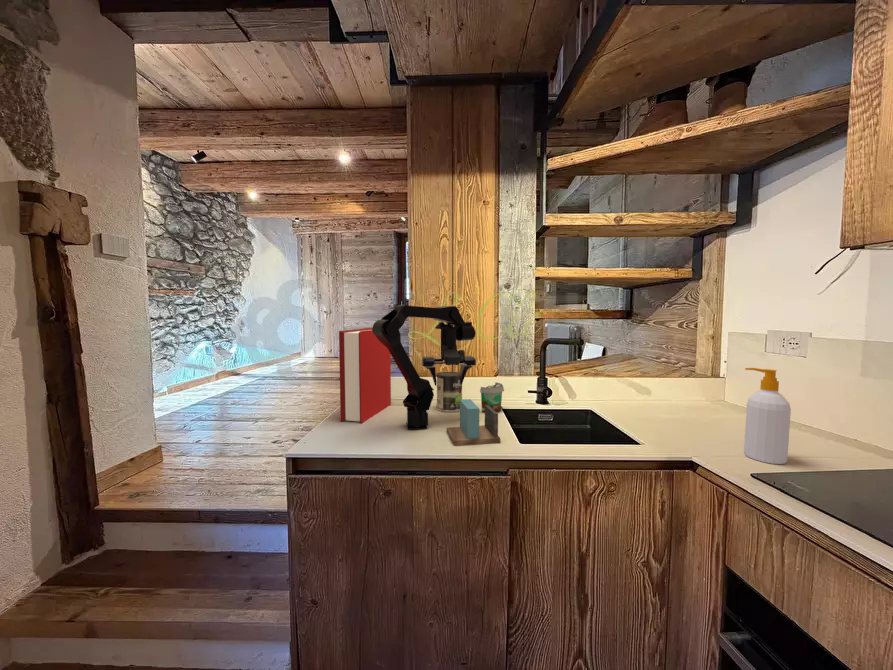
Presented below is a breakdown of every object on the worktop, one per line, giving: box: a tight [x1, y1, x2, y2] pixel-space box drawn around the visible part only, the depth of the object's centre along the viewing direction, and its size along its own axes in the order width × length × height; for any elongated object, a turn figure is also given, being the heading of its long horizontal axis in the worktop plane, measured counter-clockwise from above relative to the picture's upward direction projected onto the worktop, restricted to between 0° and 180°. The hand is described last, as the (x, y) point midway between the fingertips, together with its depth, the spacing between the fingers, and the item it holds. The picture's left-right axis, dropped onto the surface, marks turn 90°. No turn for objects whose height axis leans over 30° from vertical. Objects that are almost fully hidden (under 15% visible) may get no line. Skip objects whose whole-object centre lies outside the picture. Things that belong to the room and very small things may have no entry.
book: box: [338, 327, 392, 424], centre depth 136 cm, size 27×8×32 cm, turn 166°
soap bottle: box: [743, 367, 792, 465], centre depth 94 cm, size 9×9×24 cm
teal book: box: [459, 398, 480, 439], centre depth 109 cm, size 4×11×9 cm, turn 10°
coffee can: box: [436, 371, 463, 413], centre depth 142 cm, size 10×10×14 cm
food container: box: [479, 382, 505, 414], centre depth 139 cm, size 12×6×10 cm, turn 143°
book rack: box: [446, 405, 501, 447], centre depth 110 cm, size 14×12×8 cm
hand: (448, 385), depth 127 cm, fingers open, 9 cm apart
